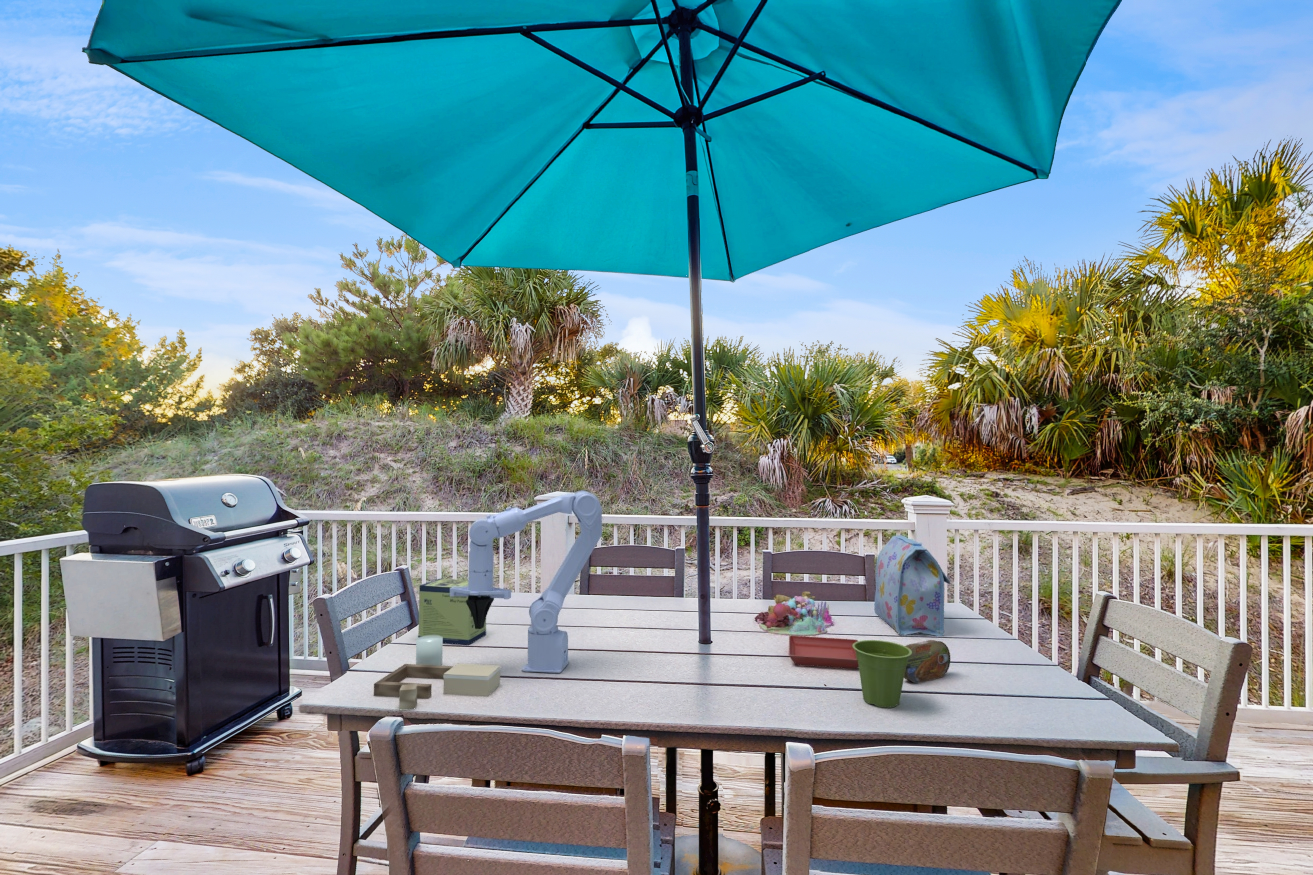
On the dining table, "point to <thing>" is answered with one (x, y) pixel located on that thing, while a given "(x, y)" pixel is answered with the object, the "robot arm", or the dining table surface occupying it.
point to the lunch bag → (910, 588)
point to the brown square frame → (392, 681)
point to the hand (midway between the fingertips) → (479, 627)
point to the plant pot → (881, 670)
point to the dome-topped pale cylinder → (429, 650)
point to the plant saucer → (823, 652)
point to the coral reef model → (795, 617)
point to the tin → (927, 661)
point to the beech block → (408, 696)
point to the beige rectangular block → (471, 679)
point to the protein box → (446, 613)
